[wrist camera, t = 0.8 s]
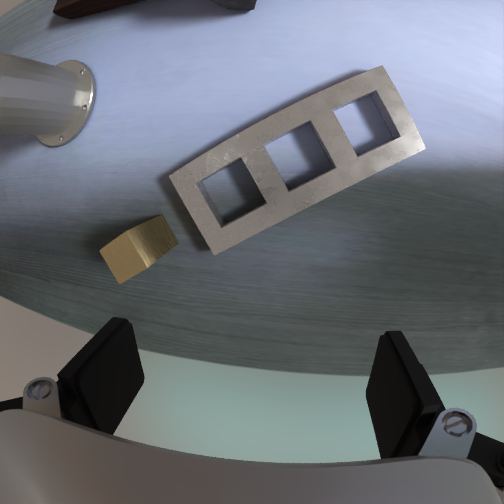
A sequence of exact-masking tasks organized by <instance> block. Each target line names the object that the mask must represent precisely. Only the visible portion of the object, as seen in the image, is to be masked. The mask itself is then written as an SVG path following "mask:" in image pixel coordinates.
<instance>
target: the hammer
mask: <svg viewBox="0 0 504 504" xmlns="http://www.w3.org/2000/svg"><path fill="white" fill-rule="evenodd" d="M140 1H144V0H57V3H56V5H55V7H54V10H53V13H54V14H56V15H58V16H61V17H64V18H68V19H74V18H78V17H83V16H87V15H90V14H94V13H98V12H102V11H105V10H109V9H112V8H116V7H119V6H123V5H127V4H131V3H135V2H140ZM213 1H214V2H216V3H218V4H220V5H222V6H224V7H226V8H227V9H244V10H254V8H255V4H256V1H257V0H213Z"/></svg>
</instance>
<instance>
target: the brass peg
mask: <svg viewBox="0 0 504 504" xmlns="http://www.w3.org/2000/svg"><path fill="white" fill-rule="evenodd" d="M178 243H179V242H178V240H177V238H176V237H175V235H174V233H173V231H172V230H171V228H170V226H169V225H168V223H167V221H166V219H165V218H164V216H163V214H162V215H160V216H157V217H155V218H153V219H151V220H149V221H147V222H144V223H142V224H140V225H138V226H136V227H134V228H132V229H130V230H128V231H126V232H124V233H123V234H121V235H120V236H119V237H117V238H116V239H114V240H113V241H111V242H110V243H109V244H107V245H106V246H104V247H103V248H102V249H100V250H99V251H100V253H101V254H102V256H103V258H104V260H105V261H106V263H107V265H108V266H109V268H110V270H111V271H112V273H113V275H114V276H115V278H116V280H117V281H118V283H119V284H121V283H123V282H125V281H126V280H128V279H130V278H131V277H133V276H135V275H136V274H138V273H140V272H141V271H143V270H145V269H147V268H148V267H149V266H151V265H152V264H153V263H154V262H156V261H157V260H158V259H159V258H161V257H162V256H163V255H164V254H166V253H167V252H168V251H169V250H171V249H172V248H173V247H174V246H176V245H177V244H178Z"/></svg>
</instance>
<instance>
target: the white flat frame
mask: <svg viewBox="0 0 504 504" xmlns="http://www.w3.org/2000/svg"><path fill="white" fill-rule="evenodd" d="M369 95H371V97H372V99H373V101H374V102H375V104H376V106H377V108H378V110H379V111H380V113H381V115H382V117H383V119H384V121H385V123H386V125H387V127H388V129H389V131H390V133H391V135H392V137H393V139H391V140H389V141H386V142H384V143H382V144H380V145H378V146H376V147H374V148H372V149H370V150H368V151H366V152H363V153H361V154H359V155H356V153H355V151H354V149H353V147H352V145H351V144H350V142H349V140H348V138H347V136H346V134H345V132H344V130H343V129H342V127H341V125H340V123H339V121H338V120H337V118H336V116H335V114H334V112H333V111H335V110H337V109H340V108H342V107H344V106H346V105H348V104H350V103H353V102H355V101H357V100H359V99H362V98H364V97H366V96H369ZM308 123H309V124H310V126H311V128H312V130H313V131H314V133H315V135H316V137H317V138H318V140H319V142H320V144H321V146H322V148H323V149H324V151H325V153H326V155H327V157H328V159H329V161H330V163H331V165H332V166H333V168H331V169H329V170H327V171H325V172H323V173H321V174H319V175H317V176H315V177H313V178H311V179H309V180H307V181H305V182H303V183H301V184H299V185H298V186H296V187H294V188H292V189H290V190H288V188H287V186H286V184H285V182H284V180H283V179H282V177H281V175H280V173H279V171H278V169H277V168H276V166H275V164H274V162H273V160H272V159H271V157H270V155H269V153H268V152H267V150H266V148H265V145H267V144H269V143H271V142H273V141H275V140H277V139H279V138H281V137H282V136H284V135H286V134H288V133H290V132H292V131H294V130H296V129H298V128H300V127H302V126H304V125H306V124H308ZM424 149H426V148H425V145H424V143H423V141H422V139H421V136H420V134H419V132H418V130H417V128H416V126H415V124H414V122H413V120H412V118H411V116H410V114H409V112H408V110H407V108H406V106H405V104H404V102H403V100H402V98H401V97H400V95H399V93H398V91H397V89H396V88H395V86H394V84H393V82H392V81H391V79H390V77H389V76H388V74H387V72H386V71H385V69H384V67H383V66H379V67H376V68H374V69H371V70H369V71H366V72H364V73H361V74H359V75H356V76H354V77H352V78H349V79H347V80H344V81H342V82H340V83H338V84H335V85H333V86H331V87H328V88H326V89H324V90H322V91H320V92H318V93H315V94H313V95H311V96H309V97H307V98H305V99H303V100H301V101H299V102H297V103H295V104H293V105H291V106H289V107H287V108H285V109H283V110H281V111H279V112H277V113H275V114H273V115H271V116H269V117H267V118H265V119H263V120H262V121H260V122H258V123H256V124H254V125H252V126H250V127H249V128H247V129H245V130H243V131H241V132H240V133H238V134H236V135H234V136H233V137H231V138H229V139H227V140H226V141H224V142H222V143H221V144H219V145H217V146H216V147H214V148H212V149H211V150H209V151H207V152H206V153H204V154H202V155H201V156H199V157H198V158H196V159H194V160H193V161H191V162H190V163H188V164H186V165H185V166H183V167H182V168H180V169H179V170H177V171H176V172H174V173H172V174H171V175H169V178H170V180H171V181H172V183H173V185H174V187H175V188H176V190H177V192H178V194H179V195H180V197H181V199H182V201H183V203H184V204H185V206H186V208H187V210H188V211H189V213H190V215H191V216H192V218H193V220H194V222H195V223H196V225H197V227H198V229H199V230H200V232H201V234H202V235H203V237H204V239H205V241H206V242H207V244H208V246H209V247H210V249H211V251H212V252H213V254H214V255H216V254H218V253H220V252H222V251H224V250H226V249H228V248H230V247H232V246H234V245H236V244H237V243H239V242H241V241H243V240H245V239H247V238H249V237H251V236H253V235H255V234H257V233H259V232H261V231H263V230H264V229H266V228H268V227H270V226H272V225H274V224H276V223H278V222H280V221H282V220H284V219H286V218H288V217H290V216H292V215H294V214H296V213H298V212H300V211H301V210H303V209H305V208H307V207H309V206H311V205H313V204H315V203H317V202H319V201H321V200H323V199H325V198H327V197H329V196H331V195H333V194H335V193H337V192H339V191H341V190H343V189H345V188H347V187H349V186H351V185H353V184H355V183H357V182H359V181H361V180H363V179H365V178H367V177H369V176H371V175H373V174H375V173H377V172H379V171H381V170H383V169H385V168H387V167H389V166H391V165H393V164H395V163H397V162H399V161H401V160H403V159H405V158H407V157H409V156H411V155H413V154H415V153H418V152H420V151H422V150H424ZM240 159H242V160H243V161H244V163H245V165H246V167H247V168H248V170H249V172H250V174H251V175H252V177H253V179H254V181H255V183H256V184H257V186H258V188H259V190H260V192H261V193H262V195H263V197H264V199H265V201H266V202H265V203H263V204H261V205H259V206H257V207H256V208H254V209H252V210H250V211H248V212H246V213H244V214H243V215H241V216H239V217H237V218H235V219H233V220H232V221H230V222H228V223H225V221H224V219H223V217H222V216H221V214H220V212H219V210H218V209H217V207H216V205H215V203H214V202H213V200H212V198H211V196H210V195H209V193H208V191H207V189H206V187H205V186H204V184H203V182H202V181H204V180H206V179H207V178H209V177H211V176H212V175H214V174H216V173H217V172H219V171H221V170H223V169H224V168H226V167H228V166H229V165H231V164H233V163H235V162H236V161H238V160H240Z"/></svg>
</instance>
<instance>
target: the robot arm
mask: <svg viewBox="0 0 504 504" xmlns="http://www.w3.org/2000/svg"><path fill="white" fill-rule="evenodd" d="M95 97H96V82H95V78H94V75H93V73H92V71H91V69H90V68H89V67H88V66H87V65H85V64H84V63H82V62H79V61H76V60H68V61H64V62H62V63H59V64H58V65H56V66H53V65H50V64H46V63H42V62H39V61H35V60H31V59H27V58H23V57H18V56H14V55H10V54H5V53H0V136H10V135H36V137H37V138H38V140H39V141H41V142H42V143H43V144H45V145H48V146H61V145H64V144H66V143H68V142H70V141H71V140H73V139H74V138H75V137H76V136H77V135H78V134H79V133H80V132H81V131H82V129H83V128H84V126H85V125H86V123H87V121H88V119H89V117H90V115H91V113H92V110H93V107H94V102H95ZM57 376H58V379H59V380H58V381H57V382H55V381H54V380H53V379H51V378H48V377H40V378H36V379H34V380H32V381H30V382H29V383H28V384H27V385H26V386H25V388H24V391H23V397H19V398H15V399H11V400H6V401H2V402H0V504H504V443H502V442H500V441H497V440H495V439H492V438H490V437H487V436H485V435H482V434H480V433H477V432H476V428H477V424H476V420H475V418H474V417H473V416H472V415H471V414H470V413H469V412H468V411H466V410H464V409H460V408H449V409H445V407H444V405H443V403H442V401H441V399H440V397H439V395H438V393H437V391H436V389H435V387H434V386H433V384H432V382H431V380H430V378H429V376H428V374H427V372H426V371H425V369H424V367H423V366H422V364H420V363H419V361H418V359H417V357H416V356H415V354H414V352H413V350H412V349H411V347H410V345H409V343H408V342H407V340H406V338H405V336H404V335H403V333H402V332H401V331H386V332H385V334H384V335H381V336H380V338H379V342H378V347H377V351H376V355H375V359H374V363H373V367H372V371H371V374H370V378H369V382H368V385H367V389H366V400H367V404H368V407H369V411H370V415H371V419H372V423H373V427H374V431H375V435H376V440H377V444H378V448H379V452H380V457H381V459H377V460H367V461H355V462H337V463H272V462H255V461H243V460H233V459H224V458H216V457H209V456H203V455H196V454H190V453H185V452H179V451H174V450H169V449H165V448H160V447H155V446H151V445H146V444H143V443H139V442H135V441H131V440H128V439H124V438H120V437H117V436H114V435H113V434H114V432H115V430H116V429H117V427H118V425H119V424H120V422H121V420H122V418H123V417H124V415H125V413H126V412H127V410H128V408H129V407H130V405H131V403H132V402H133V400H134V398H135V396H136V395H137V393H138V391H139V390H140V388H141V387H142V385H143V383H144V373H143V369H142V365H141V361H140V357H139V353H138V348H137V344H136V339H135V335H134V330H133V326H132V324H131V323H129V321H128V320H127V319H125V318H118V317H113V318H111V319H110V320H109V321H108V322H107V323H106V324H105V325H104V326H103V327H102V328H101V329H100V330H99V332H98V333H97V334H96V335H95V336H94V337H93V338H92V339H91V340H90V341H89V342H88V343H87V344H86V345H85V346H84V347H83V348H82V349H81V350H80V351H79V352H78V353H77V354H76V355H75V356H74V357H73V358H72V359H71V360H70V361H69V362H68V363H67V365H66V366H65V367H64V368H63V369H62V370H61V371H60V372H59V373H58V374H57Z"/></svg>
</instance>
